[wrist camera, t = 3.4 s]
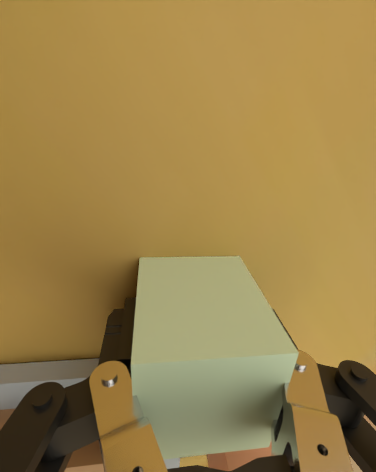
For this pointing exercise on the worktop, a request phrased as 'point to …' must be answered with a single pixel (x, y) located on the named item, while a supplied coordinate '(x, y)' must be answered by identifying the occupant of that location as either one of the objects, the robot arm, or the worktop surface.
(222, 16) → the worktop surface
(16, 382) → the board
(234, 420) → the sage block
